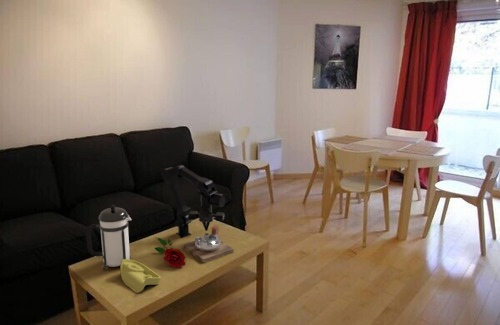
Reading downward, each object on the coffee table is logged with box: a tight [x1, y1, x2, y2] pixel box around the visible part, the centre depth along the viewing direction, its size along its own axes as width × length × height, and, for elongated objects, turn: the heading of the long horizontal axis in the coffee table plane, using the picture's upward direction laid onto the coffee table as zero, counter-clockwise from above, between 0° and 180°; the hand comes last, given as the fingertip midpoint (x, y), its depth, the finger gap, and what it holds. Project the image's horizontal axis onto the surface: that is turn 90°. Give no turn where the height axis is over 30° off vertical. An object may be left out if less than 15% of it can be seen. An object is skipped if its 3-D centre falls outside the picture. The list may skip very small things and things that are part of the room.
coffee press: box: [85, 204, 132, 271], centre depth 175 cm, size 17×16×30 cm
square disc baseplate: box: [182, 240, 235, 264], centre depth 194 cm, size 20×18×2 cm
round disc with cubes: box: [194, 224, 222, 252], centre depth 195 cm, size 18×13×7 cm
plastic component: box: [120, 259, 162, 294], centre depth 165 cm, size 20×7×10 cm
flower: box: [153, 236, 186, 269], centre depth 186 cm, size 9×10×30 cm
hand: (206, 230), depth 203 cm, fingers closed
